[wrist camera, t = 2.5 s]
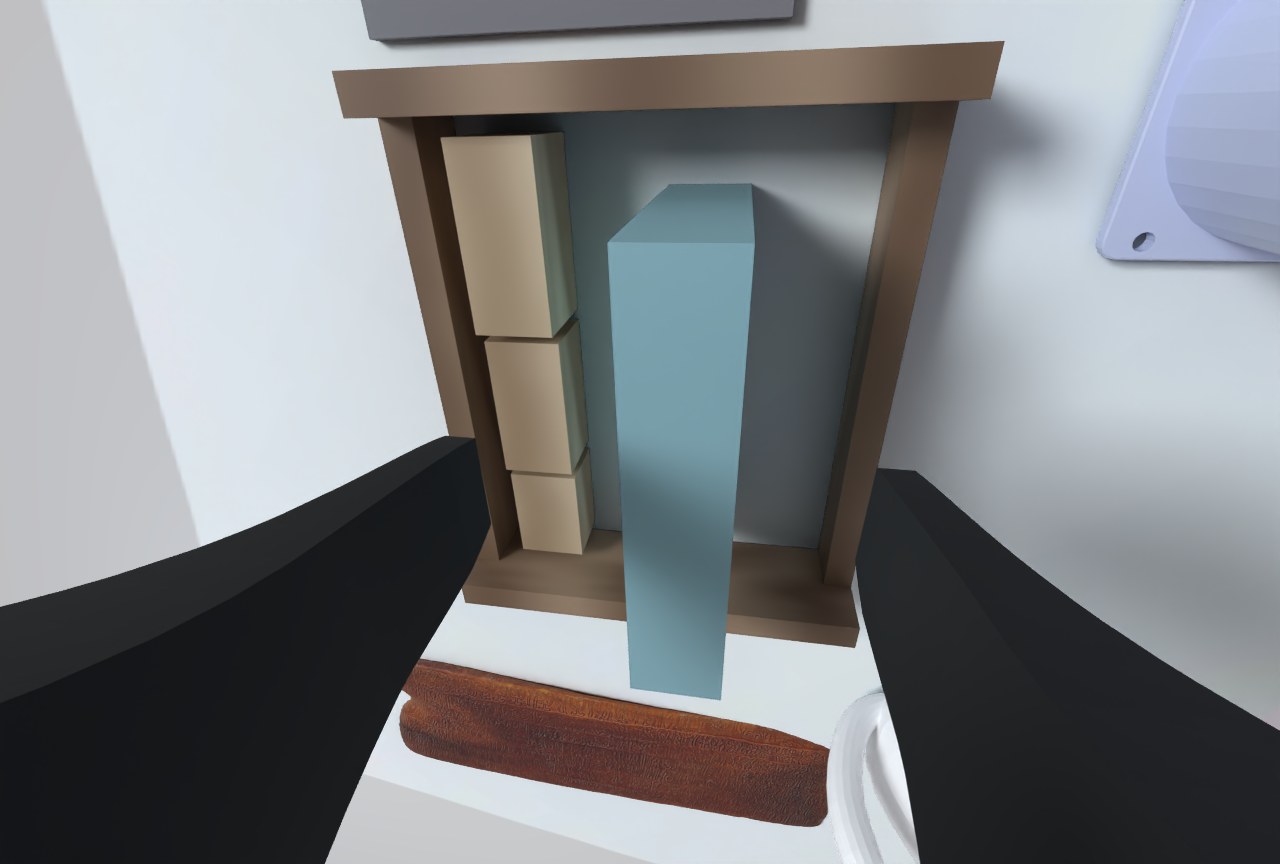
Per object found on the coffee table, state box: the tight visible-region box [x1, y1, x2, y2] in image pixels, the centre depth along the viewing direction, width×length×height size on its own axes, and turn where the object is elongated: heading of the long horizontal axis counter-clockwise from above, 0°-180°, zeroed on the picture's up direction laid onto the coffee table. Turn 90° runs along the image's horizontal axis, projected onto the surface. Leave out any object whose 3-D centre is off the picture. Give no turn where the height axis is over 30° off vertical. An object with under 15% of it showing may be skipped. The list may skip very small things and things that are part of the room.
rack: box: [332, 41, 1005, 648], centre depth 19 cm, size 15×18×4 cm
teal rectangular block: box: [607, 184, 755, 700], centre depth 16 cm, size 2×12×9 cm, turn 1°
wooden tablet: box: [399, 659, 830, 827], centre depth 33 cm, size 27×10×2 cm, turn 85°
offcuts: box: [441, 132, 595, 555], centre depth 20 cm, size 2×15×3 cm, turn 1°
